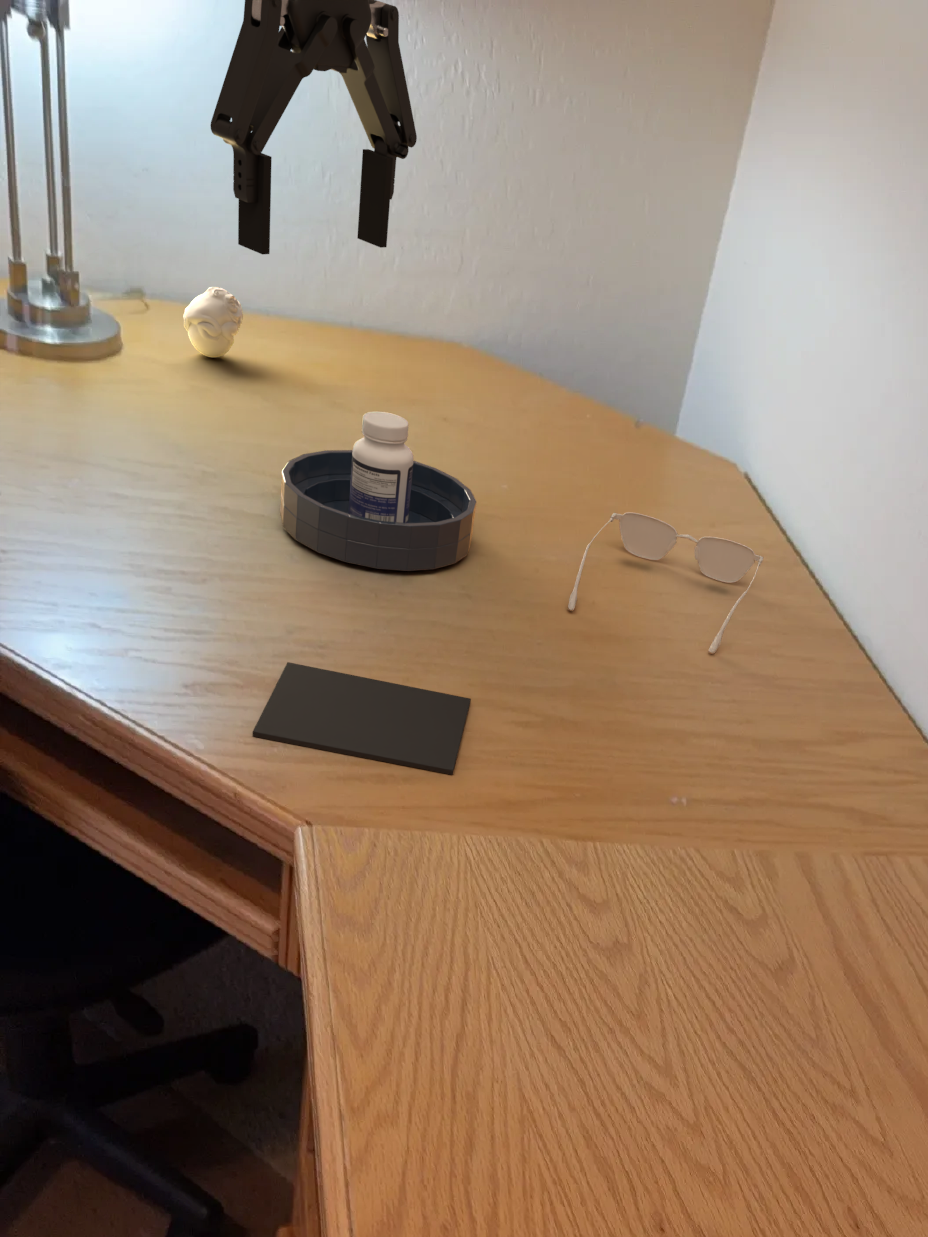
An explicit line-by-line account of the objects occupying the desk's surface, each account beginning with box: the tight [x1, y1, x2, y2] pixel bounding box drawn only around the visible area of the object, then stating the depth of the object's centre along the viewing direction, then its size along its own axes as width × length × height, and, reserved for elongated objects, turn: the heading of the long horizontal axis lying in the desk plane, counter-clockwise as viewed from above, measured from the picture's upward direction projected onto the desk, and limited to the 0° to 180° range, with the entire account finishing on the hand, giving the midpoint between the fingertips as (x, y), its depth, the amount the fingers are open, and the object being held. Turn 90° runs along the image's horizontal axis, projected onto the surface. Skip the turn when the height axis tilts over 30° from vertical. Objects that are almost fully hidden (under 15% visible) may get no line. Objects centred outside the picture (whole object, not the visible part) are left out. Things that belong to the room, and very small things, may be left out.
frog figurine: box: [182, 286, 244, 358], centre depth 145 cm, size 6×7×7 cm
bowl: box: [279, 449, 477, 572], centre depth 117 cm, size 17×17×4 cm
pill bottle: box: [349, 411, 414, 523], centre depth 115 cm, size 5×5×10 cm
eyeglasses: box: [567, 511, 764, 655], centre depth 119 cm, size 15×18×4 cm
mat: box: [252, 661, 472, 776], centre depth 93 cm, size 14×11×1 cm
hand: (315, 246), depth 106 cm, fingers open, 13 cm apart
